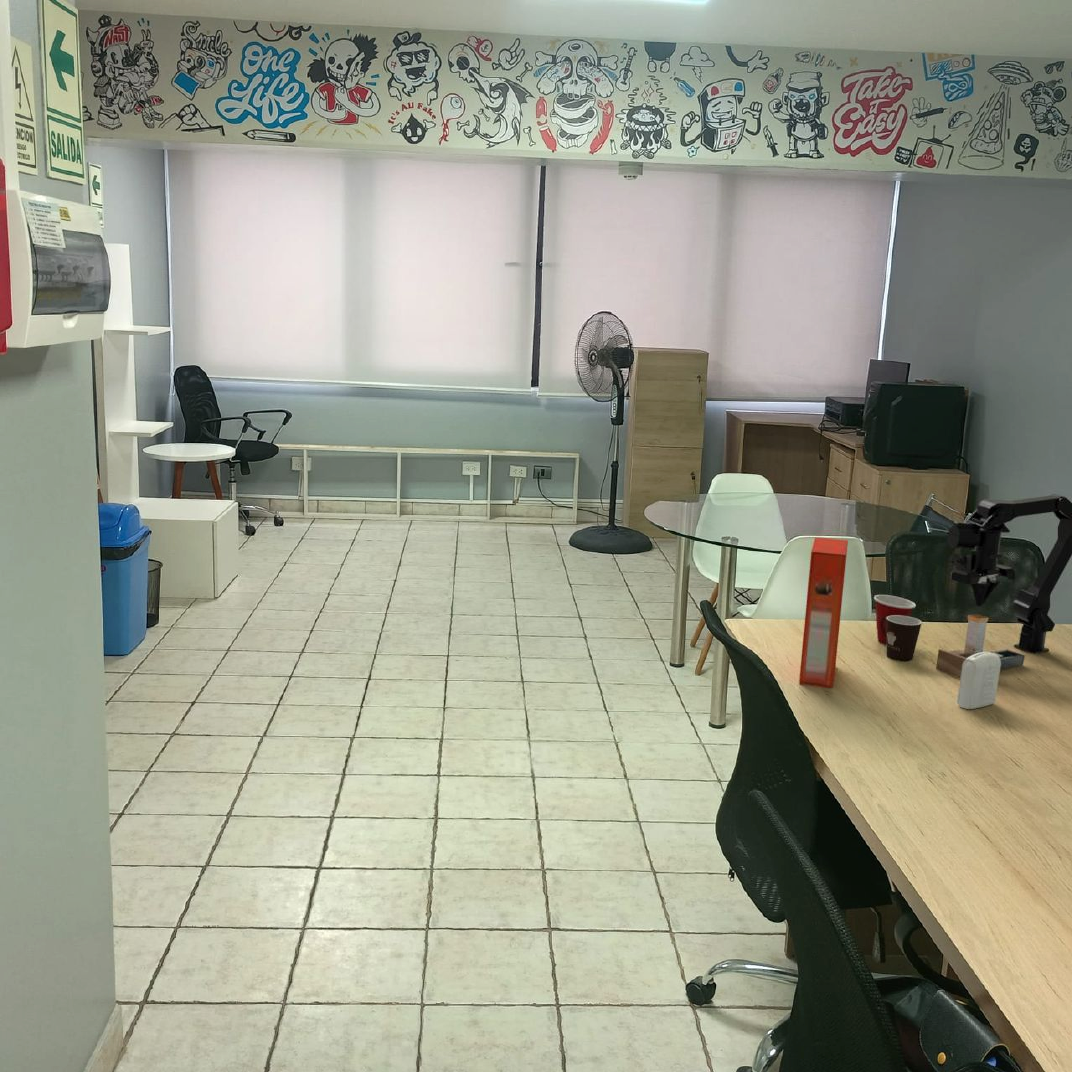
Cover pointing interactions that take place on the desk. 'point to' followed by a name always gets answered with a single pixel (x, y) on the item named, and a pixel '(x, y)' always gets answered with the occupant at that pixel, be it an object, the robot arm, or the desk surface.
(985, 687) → the photo printer
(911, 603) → the plastic cup
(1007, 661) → the sleeve
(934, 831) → the desk surface
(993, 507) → the robot arm
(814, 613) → the file binder
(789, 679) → the desk surface
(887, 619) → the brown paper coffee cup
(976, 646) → the grey orange-topped post
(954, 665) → the socket
